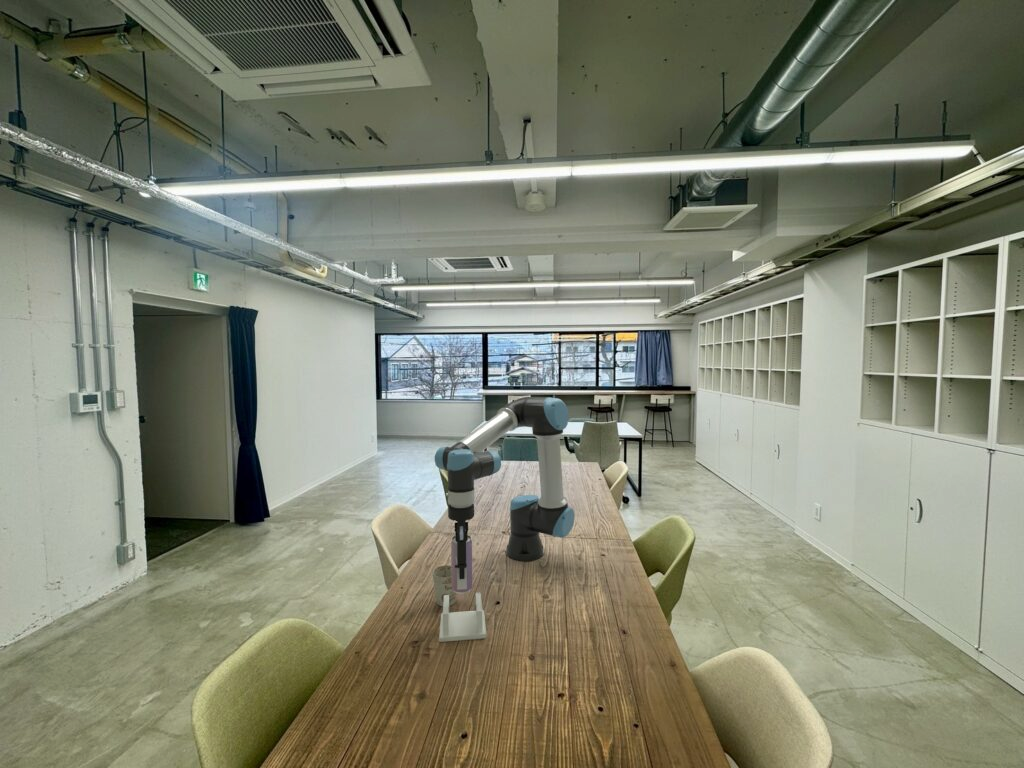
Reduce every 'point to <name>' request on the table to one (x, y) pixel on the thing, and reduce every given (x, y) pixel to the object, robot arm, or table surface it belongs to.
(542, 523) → the robot arm
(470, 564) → the beverage can
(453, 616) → the holder
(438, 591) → the mug
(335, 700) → the table surface
